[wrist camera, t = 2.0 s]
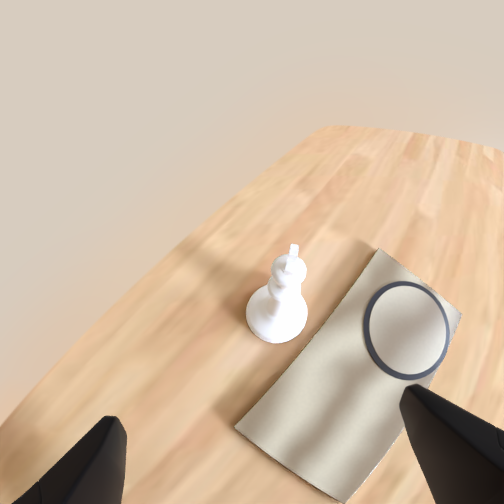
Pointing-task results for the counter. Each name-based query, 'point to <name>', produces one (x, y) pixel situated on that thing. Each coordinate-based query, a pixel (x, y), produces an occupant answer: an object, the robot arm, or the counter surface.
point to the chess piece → (279, 301)
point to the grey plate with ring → (354, 379)
